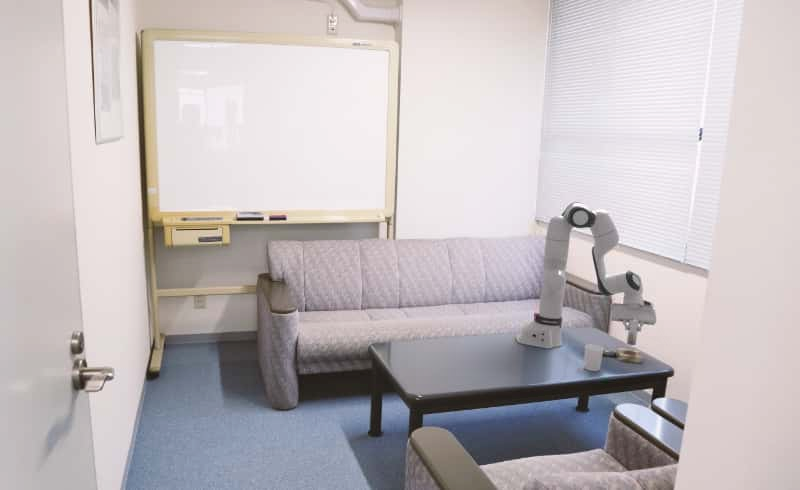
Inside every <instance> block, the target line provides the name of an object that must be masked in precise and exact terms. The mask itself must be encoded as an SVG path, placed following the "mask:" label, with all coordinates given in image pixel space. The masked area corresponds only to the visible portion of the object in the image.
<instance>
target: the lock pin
mask: <svg viewBox="0 0 800 490" xmlns="http://www.w3.org/2000/svg"><path fill="white" fill-rule="evenodd" d="M603 356H605V357H613V358H617V357H618V354H617V351H609V350H603ZM603 356H602V357H603Z"/></svg>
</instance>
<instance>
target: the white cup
mask: <svg viewBox="0 0 800 490" xmlns="http://www.w3.org/2000/svg"><path fill="white" fill-rule="evenodd" d="M603 351H604V347H602V346H600V345H598V344H591V343H589V344H586V345H584V355H583V356H584V357H583V358H584V365H583V369H585V370H587V371H590V372H599V371H600V369H601V366H602V360H603Z"/></svg>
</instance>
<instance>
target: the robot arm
mask: <svg viewBox="0 0 800 490" xmlns="http://www.w3.org/2000/svg"><path fill="white" fill-rule="evenodd" d="M548 222H549V223H548V225H547V229H546V238H545V247H544V253H543V254H544V256H543V262H542V263H543V264H542V273H541V276H542V277H541V278H542V279H541V281H542V282H541V291H540V297H539V298H540V299H539V309H538V312H537V311H536V312H533V317H534V319H533V321H530V322H529V323H527V324H525V325H524V326H523V327H522V329H521V332H520V333H518V334H517V335H516V342H517V343H518V344H523V345H527V346H532V347H538V348H543V349H549V350H550V349H552V348H558V347H561V346H562V345H563V340H562V330H561V329H562V327H563V305H564V298H565V292H566V285H567V284H566V283H567V277H566V270H567V263H568V262H567V261H568V257H569V249H570V238H571V231H572V230H573V228H577V229H584V228H585V229H586V228H589V230H590V232H591V234H592V236H593V237H592V238H593V240H594V245H593V246H592V248H591V255H592V261H593V266H594V270H595V274H596V281H597V289H598V291H599V293H601V294H602V295H603V296H606V297H611V296H614V295H616V294H622V293H623V294H624V295H623V298H622V299H623V301H622V302H623V303H622V302H613V303H611V304H610V307H609V308H610V311H611V312H610V320H611V321H613V322H621V323H622V325H623V326H624V330H625V331H628V330H629V320H630V318H635V319H638V320H639V322H638V325H639V326H638V330H637V332H639V333H640V332H641V331H642V328H643V326H644V325H648V326H654V325H655V324H656V322H657V316H656V315H657V314H656V310H655V309H654V303H653V302H651V301H649V300H645V299H644V298H643V292H644V288H643V282H642V277H641V275H640V274H638V273H635V272H633V271H632V270H625V271H619V272H617V273H612V274H608V273H607V269H606V265H605V264H606V263H605V261H604V259H605V255H607V254H608V253H610V252H611V251H612V250H614V249H615V247H616V246H617V245H618V243H619V241H620V240H619V239H620V237H619V232H618V229H617V227H616V225H615V223H614V221H613V219H612V217H611V216H610V214H609V212H608V211H607V210H604V209H597V210H594V211H592V210H591V209H589V207H588V206H587V205H585V204H584V203H582V202H579V201H577V202H571V203H570V204H569V205H568V206H567V207H566V208H565V210H564V211H563V212H562V214H561V215H556V216H553V217H551V218H550V220H549V221H548ZM627 323H628V324H627Z"/></svg>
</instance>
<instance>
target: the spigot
mask: <svg viewBox="0 0 800 490" xmlns="http://www.w3.org/2000/svg"><path fill="white" fill-rule="evenodd" d="M638 322H639V320H638V319H635V318H630V320H629V323H628V325H629V330H627V331H628V332H627V337H626V339H627V340H626V344H627V345H629V346H636V345H637V337H638V331H637V330H638V327H639V324H638Z"/></svg>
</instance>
